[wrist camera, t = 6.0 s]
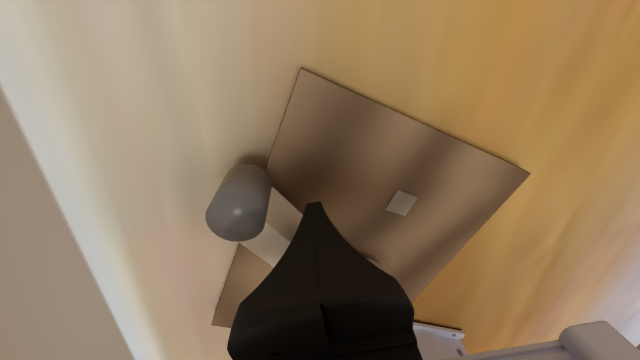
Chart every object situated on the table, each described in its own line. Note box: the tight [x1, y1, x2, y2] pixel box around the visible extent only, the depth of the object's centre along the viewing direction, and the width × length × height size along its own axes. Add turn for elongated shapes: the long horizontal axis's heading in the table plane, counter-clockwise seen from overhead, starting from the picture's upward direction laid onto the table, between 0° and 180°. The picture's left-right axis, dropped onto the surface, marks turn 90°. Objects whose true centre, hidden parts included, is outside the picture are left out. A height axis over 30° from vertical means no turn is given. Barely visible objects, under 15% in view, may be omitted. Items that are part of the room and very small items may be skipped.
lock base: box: [211, 67, 531, 328], centre depth 18 cm, size 16×22×2 cm
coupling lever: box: [206, 164, 383, 270], centre depth 15 cm, size 14×4×3 cm, turn 38°
